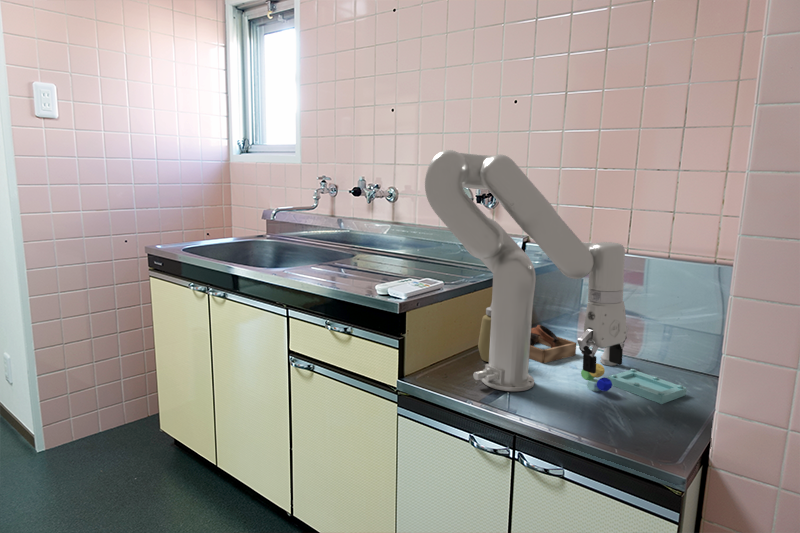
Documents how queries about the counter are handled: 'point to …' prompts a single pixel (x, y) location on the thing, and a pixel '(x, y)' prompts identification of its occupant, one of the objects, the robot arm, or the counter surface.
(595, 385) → the multicolored ball cluster
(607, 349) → the rook chess piece
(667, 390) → the baseplate
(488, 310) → the squeeze bottle
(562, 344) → the tray
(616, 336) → the robot arm
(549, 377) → the counter surface
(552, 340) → the pottery mug
